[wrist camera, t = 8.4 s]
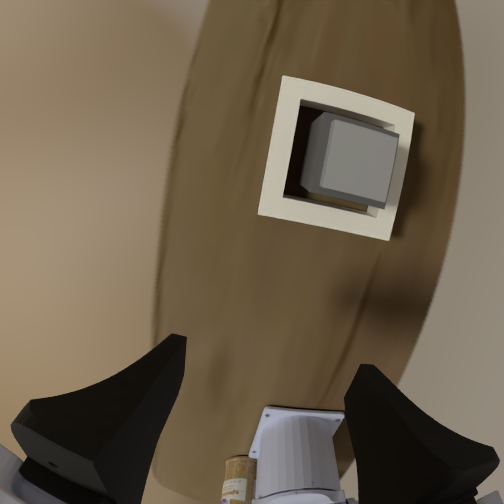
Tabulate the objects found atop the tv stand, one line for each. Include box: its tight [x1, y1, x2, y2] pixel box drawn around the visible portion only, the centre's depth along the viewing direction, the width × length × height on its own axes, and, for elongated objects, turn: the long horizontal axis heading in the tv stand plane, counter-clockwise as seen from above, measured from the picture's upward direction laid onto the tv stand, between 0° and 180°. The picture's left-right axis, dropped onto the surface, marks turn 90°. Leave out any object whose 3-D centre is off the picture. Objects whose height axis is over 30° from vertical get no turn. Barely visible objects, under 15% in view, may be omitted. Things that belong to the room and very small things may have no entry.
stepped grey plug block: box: [299, 112, 400, 210], centre depth 15 cm, size 4×4×6 cm
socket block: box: [258, 76, 415, 241], centre depth 17 cm, size 8×8×2 cm
